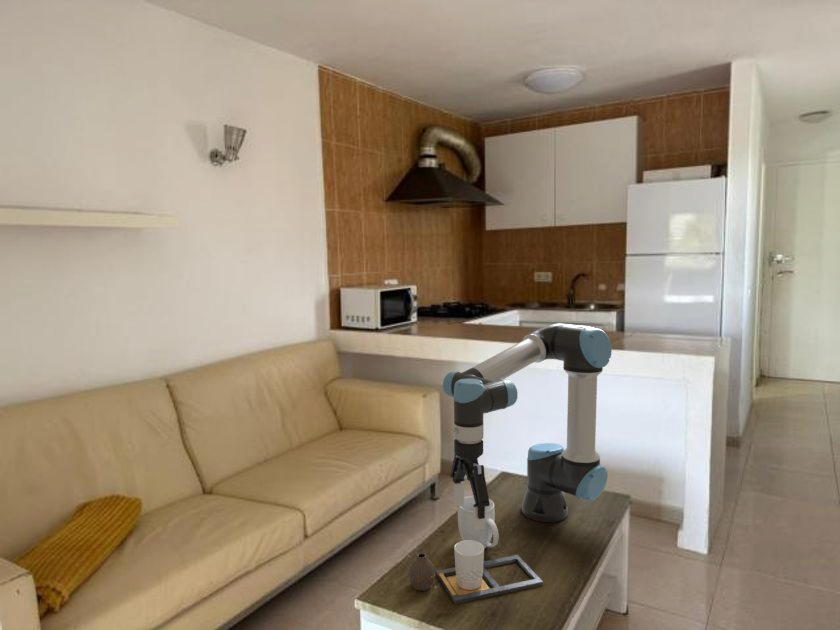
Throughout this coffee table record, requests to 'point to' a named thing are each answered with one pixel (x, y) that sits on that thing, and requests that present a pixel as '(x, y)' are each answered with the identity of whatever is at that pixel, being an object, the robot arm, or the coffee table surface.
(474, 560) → the white cup
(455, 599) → the grey double frame
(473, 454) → the robot arm
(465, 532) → the mug
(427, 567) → the vase
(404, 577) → the coffee table surface
